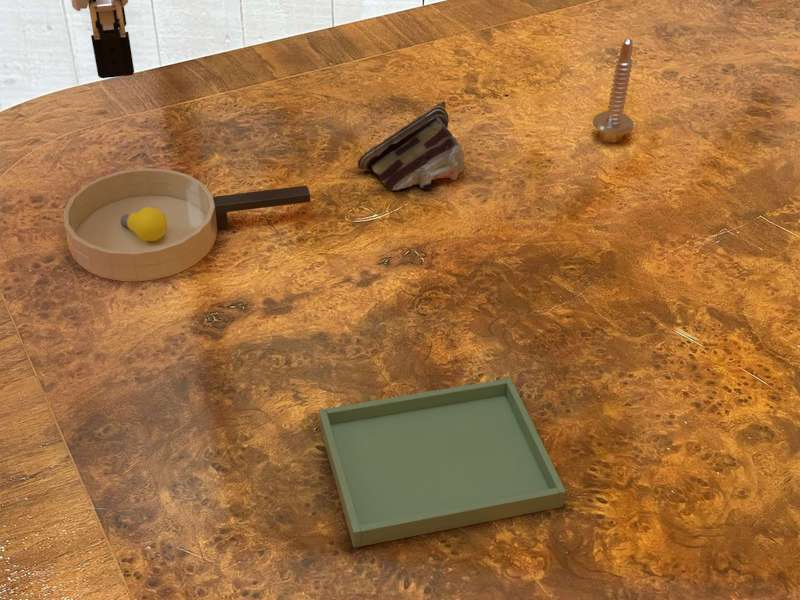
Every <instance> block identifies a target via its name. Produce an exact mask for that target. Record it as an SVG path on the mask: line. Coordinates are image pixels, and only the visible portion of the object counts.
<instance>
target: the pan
mask: <svg viewBox="0 0 800 600" xmlns="http://www.w3.org/2000/svg"><path fill="white" fill-rule="evenodd" d="M213 197H214V196H213V193H212V191H211V190H210V189H209V188H208V187H207V186H206V185H205V184H204V183H203V181H200V180H199V179H197V178H195V177H194V176H192V175H189V174H188V173H184V172H180V171H176V170H172V169H168V168H156V167H155V168H152V167H142V168H133V169H124V170H120V171H116V172H113V173H109V174H106V175H103V176H100V177H99V178H97V179H95V180H92V181H91V182H89V183H87V184H85V185H83V186H82V187H81V188H80V189H79V190H77V191H76V192H75V193H74V194H73V195H72V196H70V198H69V200H68V201H67V203H66V205H65V207H64V210H63V226H64V232H65V236H66V240H67V246H68V251H69V252H70V254H71V256H72V258H73V259H74V261H75V262H76V263H77V264H78V265H79V266H80V267H81V268H82V269H84V270H85V271H87V272H89V273H91V274H93V275H95V276H98V277H100V278H104V279H107V280H112V281H119V282H146V281H155V280H159V279H163V278H168V277H171V276H173V275H176V274H179V273H181V272H184V271H186V270H188V269H190V268H192V267H193V266H195V265H197V263H199V262H201V261H202V260H203V259H204V258H205V257H206V256H207V255H208V254H209V252H211V250H212V249H213V247H214V245H215V243H216V239H217V235H218V234H217V233H218V230H217V222H216V212H215V204H214V200H213ZM146 207H149V208H155V209H158V210H160V211H161V212H162V213H163V214H164V216H165V217H166V218H167V230H166V232H165V234H164V236H162V237H161V238H159V239H158V240H156V241H146V240H142V239H140V238H139V237H138V236H137V235H136V233H135V232H134V231H131V230H130V229H129V228H127V227H123V226H122V225H121V221H120V220H121V217H122V216H123V215H124V214H128V215H131V214H133V213H137V212H139V211H140V210H142V209H143V208H146Z"/></svg>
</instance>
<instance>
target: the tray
mask: <svg viewBox="0 0 800 600" xmlns="http://www.w3.org/2000/svg"><path fill="white" fill-rule="evenodd" d="M318 426H319V429H320V434H321V436H322V440H323V444H324V447H325V451H326V455H327V458H328V461H329V465H330V468H331V469H330V470H331V473H332V476H333V480H334V483H335V487H336V490H337V494H338V497H339V501H340V504H341V508H342V512H343V516H344V520H345V522H346V526H347V531H348V534H349V537H350V540H351V544H352V547H353V548H354V549H356V548H361V547H366V546H370V545H376V544H380V543H385V542H391V541H396V540H401V539H406V538H412V537H417V536H421V535H425V534H433V533H438V532H442V531H446V530H447V531H448V530H451V529H457V528H462V527H468V526H472V525H477V524H483V523H486V522H492V521H497V520H503V519H508V518H512V517H518V516H523V515H528V514H529V515H530V514H533V513H539V512H543V511H548V510H554V509H559V508H563V507H564V505H565V498H566V493H567V491H566V488H565V487H564V484H563V482H562V480H561V478H560V476H559V474H558V471H557V470H556V467H555V466H554V464H553V461H552V460H551V457H550V456H549V453H548V451H547V449H546V448H545V446H544V443H543V441H542V439H541V437H540V435H539V433H538V431H537V429H536V426H535V424H534V423H533V421H532V418H531V416H530V414H529V412H528V410H527V408H526V406H525V404H524V402H523V400H522V398H521V396H520V394H519V391H518V389H517V388H516V385H515V384H514V381H513V379H512V378H511V377H508V378H507V377H505V378H502V379H495V380H489V381H483V382H478V383H471V384H464V385H460V386H459V385H458V386H452V387H448V388H441V389H434V390H429V391H424V392H417V393H412V394H405V395H399V396H393V397H386V398H380V399H377V400H376V399H374V400H369V401H363V402H357V403H350V404H345V405H339V406H332V407H328V408H320V409H318Z"/></svg>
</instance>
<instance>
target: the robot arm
mask: <svg viewBox="0 0 800 600" xmlns="http://www.w3.org/2000/svg"><path fill="white" fill-rule="evenodd" d="M70 1H71V6H72V8H73V9H74V10H76V11H77V12H81V10H83V9H85V10H86V9H89V14H90V21H91V27H92V34H91V35H90V38H91V42H92V49H93V54H94V61H95V66H96V72H97V76H98V77H99V78H100V79H110V78H119V77H129V76H133V75H134V73H135V67H134V60H133V54H132V48H131V42H130V34H129V31H126V26H127V19H126V13H125V12H126V11H125V6H127V4H128V2H129V0H70Z"/></svg>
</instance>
